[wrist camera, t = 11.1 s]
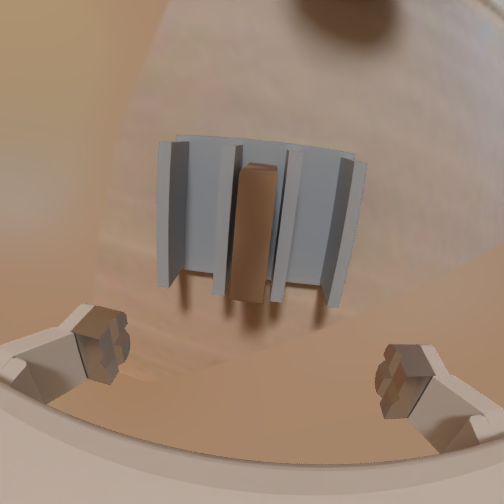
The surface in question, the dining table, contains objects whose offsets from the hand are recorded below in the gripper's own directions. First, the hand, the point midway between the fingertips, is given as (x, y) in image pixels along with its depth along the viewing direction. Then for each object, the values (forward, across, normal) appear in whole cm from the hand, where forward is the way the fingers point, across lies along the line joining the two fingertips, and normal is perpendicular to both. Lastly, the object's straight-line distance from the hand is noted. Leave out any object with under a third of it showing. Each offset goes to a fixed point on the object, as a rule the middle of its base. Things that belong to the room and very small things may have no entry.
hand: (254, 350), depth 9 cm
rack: (+21, +1, +1) cm, 21 cm away
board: (+20, +1, +1) cm, 20 cm away
